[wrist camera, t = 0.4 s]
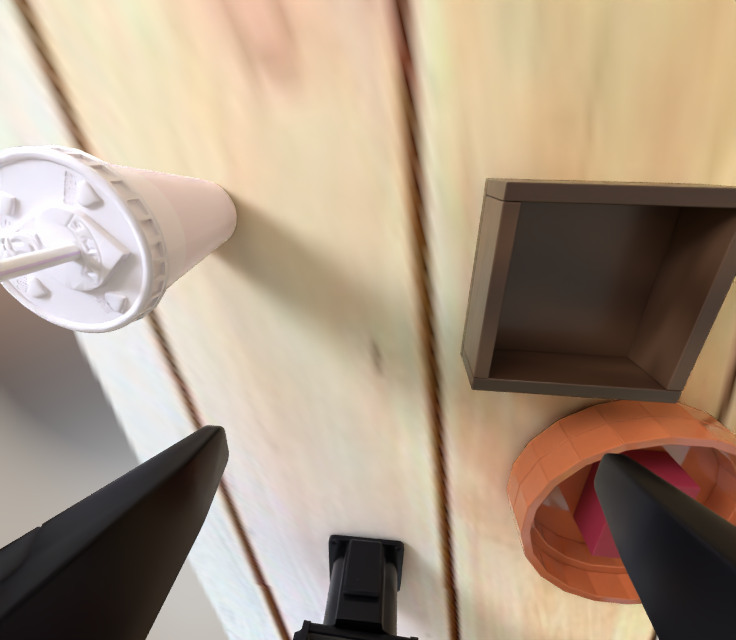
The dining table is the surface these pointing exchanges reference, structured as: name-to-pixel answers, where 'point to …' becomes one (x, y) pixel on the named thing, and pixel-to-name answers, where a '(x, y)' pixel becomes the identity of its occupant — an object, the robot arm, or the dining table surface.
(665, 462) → the dark red block
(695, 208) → the holder
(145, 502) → the robot arm
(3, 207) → the smoothie
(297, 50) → the dining table surface
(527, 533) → the bowl
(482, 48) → the dining table surface
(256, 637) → the dining table surface
